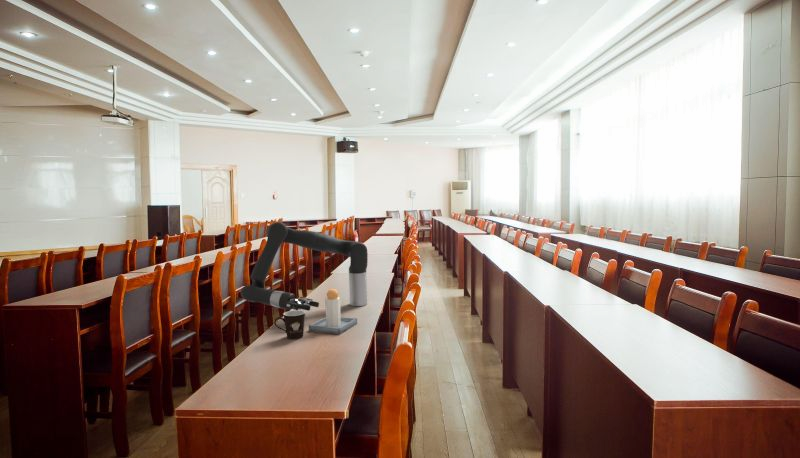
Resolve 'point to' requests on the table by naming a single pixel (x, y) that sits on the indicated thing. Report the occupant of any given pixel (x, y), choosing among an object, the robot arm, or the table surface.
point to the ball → (332, 294)
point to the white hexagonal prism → (333, 312)
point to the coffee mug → (293, 324)
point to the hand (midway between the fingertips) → (314, 306)
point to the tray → (321, 327)
